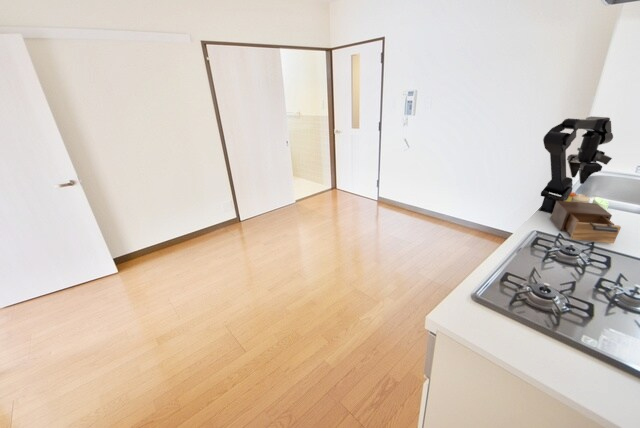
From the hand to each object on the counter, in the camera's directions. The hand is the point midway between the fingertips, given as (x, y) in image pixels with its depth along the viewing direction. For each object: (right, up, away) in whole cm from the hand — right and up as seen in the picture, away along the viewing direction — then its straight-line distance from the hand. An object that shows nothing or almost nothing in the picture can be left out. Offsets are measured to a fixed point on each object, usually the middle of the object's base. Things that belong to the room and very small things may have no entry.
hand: (577, 180), depth 129 cm
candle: (-7, -17, -6) cm, 19 cm away
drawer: (-18, -25, -24) cm, 39 cm away
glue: (+1, -11, +5) cm, 12 cm away
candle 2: (+1, -17, -8) cm, 19 cm away
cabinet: (-14, -21, -14) cm, 29 cm away
